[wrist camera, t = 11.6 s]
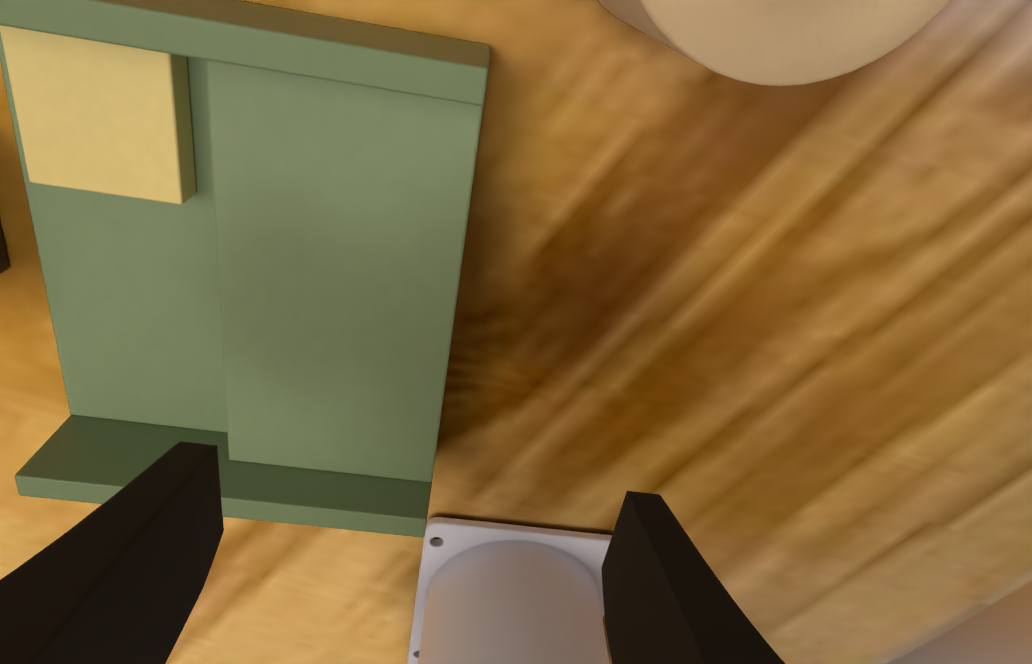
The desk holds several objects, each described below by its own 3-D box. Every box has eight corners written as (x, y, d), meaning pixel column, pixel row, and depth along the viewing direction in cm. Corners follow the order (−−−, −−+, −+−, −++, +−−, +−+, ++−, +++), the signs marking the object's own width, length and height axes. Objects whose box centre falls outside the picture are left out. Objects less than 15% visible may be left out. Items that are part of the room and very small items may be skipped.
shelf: (435, 451, 25) (424, 538, 21) (94, 411, 23) (18, 496, 20) (491, 44, 18) (489, 68, 14) (14, -41, 17) (-125, -39, 13)
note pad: (197, 194, 18) (182, 205, 17) (51, 172, 18) (28, 183, 17) (187, 46, 16) (169, 51, 16) (24, 18, 16) (-4, 21, 15)
